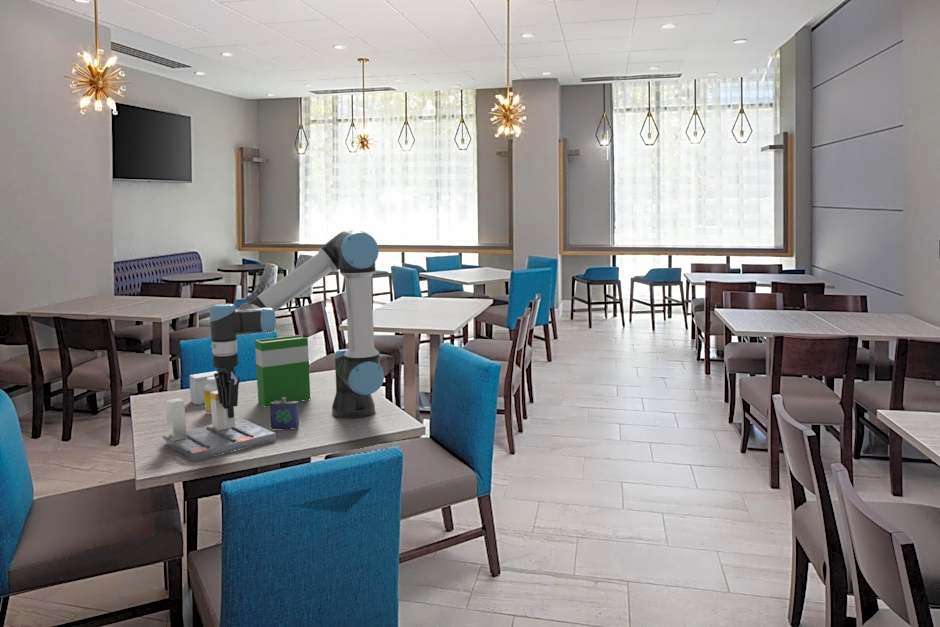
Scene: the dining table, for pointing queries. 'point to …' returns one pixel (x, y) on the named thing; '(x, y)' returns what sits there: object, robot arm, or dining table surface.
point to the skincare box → (199, 386)
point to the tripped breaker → (217, 412)
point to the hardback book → (282, 369)
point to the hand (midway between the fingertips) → (229, 427)
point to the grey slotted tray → (210, 435)
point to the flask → (284, 414)
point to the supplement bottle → (209, 388)
